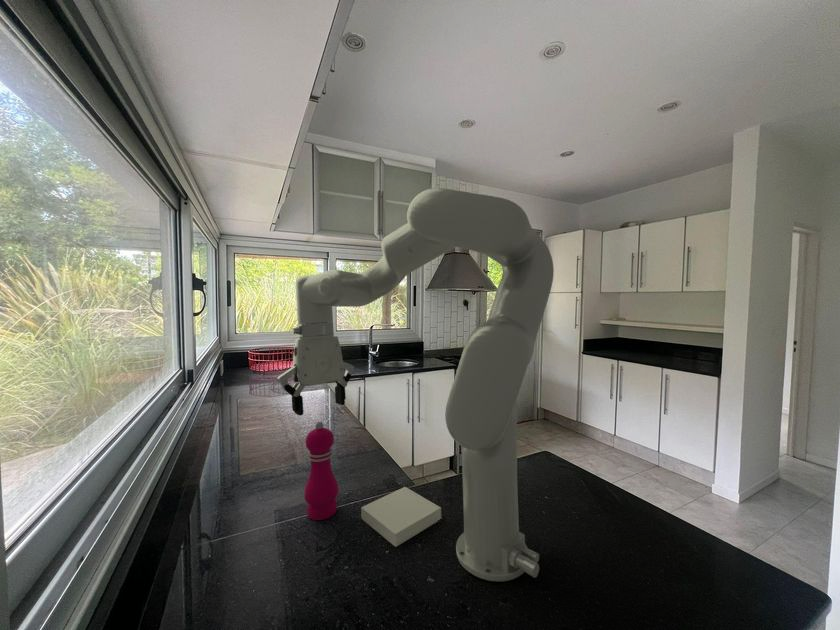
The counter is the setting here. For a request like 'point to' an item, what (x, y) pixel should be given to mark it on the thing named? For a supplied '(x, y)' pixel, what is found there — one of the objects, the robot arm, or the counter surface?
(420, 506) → the glazed tile
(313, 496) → the pepper mill
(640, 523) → the counter surface
